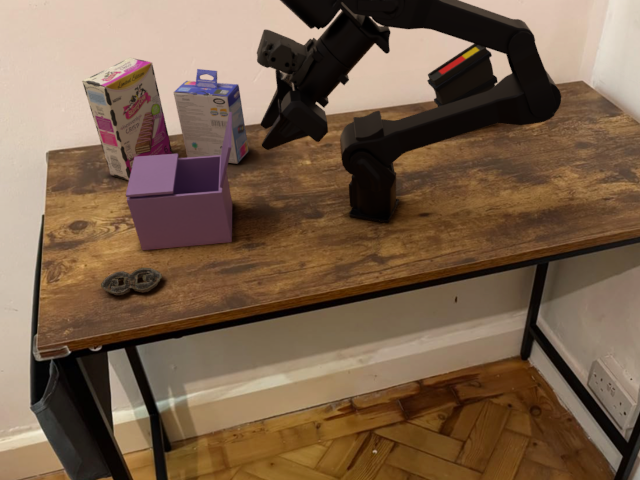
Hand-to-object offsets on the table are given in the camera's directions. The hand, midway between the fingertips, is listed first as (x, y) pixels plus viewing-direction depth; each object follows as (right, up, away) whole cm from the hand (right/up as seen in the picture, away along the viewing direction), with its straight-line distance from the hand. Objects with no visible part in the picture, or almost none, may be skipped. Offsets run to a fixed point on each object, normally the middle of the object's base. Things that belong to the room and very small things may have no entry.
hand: (263, 136), depth 94 cm
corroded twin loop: (-17, -22, -3) cm, 28 cm away
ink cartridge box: (-13, +4, +24) cm, 27 cm away
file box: (-13, -11, +8) cm, 19 cm away
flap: (-6, -2, 0) cm, 6 cm away
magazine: (+31, +11, +32) cm, 46 cm away
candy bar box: (-25, +2, +22) cm, 33 cm away
